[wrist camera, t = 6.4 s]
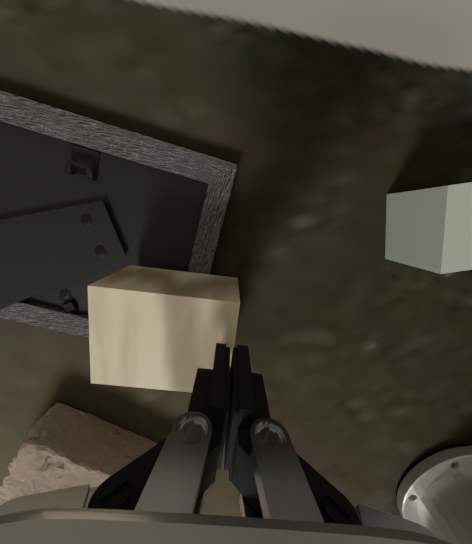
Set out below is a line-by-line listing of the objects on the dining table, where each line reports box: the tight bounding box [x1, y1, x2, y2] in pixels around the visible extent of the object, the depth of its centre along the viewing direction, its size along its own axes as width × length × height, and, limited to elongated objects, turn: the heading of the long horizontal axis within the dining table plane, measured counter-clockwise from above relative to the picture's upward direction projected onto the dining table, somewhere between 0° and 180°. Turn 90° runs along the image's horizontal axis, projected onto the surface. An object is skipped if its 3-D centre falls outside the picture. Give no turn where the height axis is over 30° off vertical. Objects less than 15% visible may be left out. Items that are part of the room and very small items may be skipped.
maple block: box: [88, 265, 240, 392], centre depth 15 cm, size 5×6×8 cm
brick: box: [0, 403, 205, 514], centre depth 21 cm, size 17×8×5 cm, turn 58°
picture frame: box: [0, 90, 238, 338], centre depth 17 cm, size 16×2×21 cm
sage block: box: [385, 182, 472, 274], centre depth 15 cm, size 5×5×5 cm
